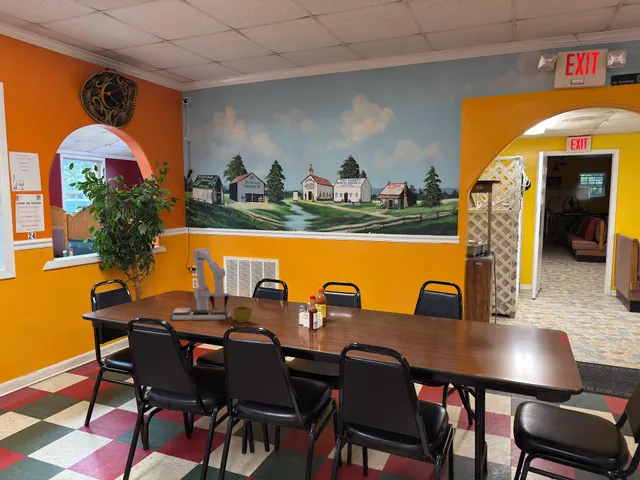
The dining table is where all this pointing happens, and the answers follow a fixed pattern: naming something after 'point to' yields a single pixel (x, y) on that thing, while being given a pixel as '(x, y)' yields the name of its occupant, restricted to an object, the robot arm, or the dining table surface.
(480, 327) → the dining table surface
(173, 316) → the grey switch panel
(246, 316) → the flower pot
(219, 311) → the panel
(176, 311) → the grey rectangular frame
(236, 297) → the dining table surface
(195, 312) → the rocker
